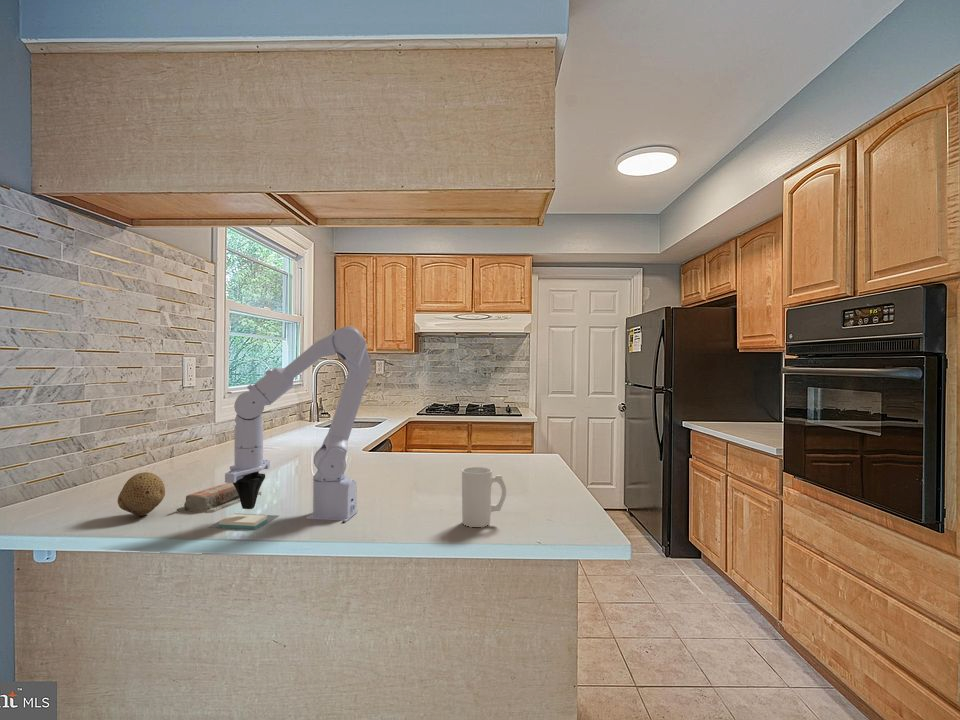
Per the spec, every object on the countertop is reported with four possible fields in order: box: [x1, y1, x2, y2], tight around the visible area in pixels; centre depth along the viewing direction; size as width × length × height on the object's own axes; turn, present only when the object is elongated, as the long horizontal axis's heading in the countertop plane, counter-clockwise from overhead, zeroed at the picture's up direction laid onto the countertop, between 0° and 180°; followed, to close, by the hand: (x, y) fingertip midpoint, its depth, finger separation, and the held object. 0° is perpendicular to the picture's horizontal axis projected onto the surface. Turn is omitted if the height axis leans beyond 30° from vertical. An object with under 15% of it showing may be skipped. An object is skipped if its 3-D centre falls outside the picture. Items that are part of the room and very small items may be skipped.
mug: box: [461, 466, 507, 528], centre depth 118 cm, size 10×7×12 cm, turn 92°
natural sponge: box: [117, 471, 166, 517], centre depth 121 cm, size 9×9×10 cm
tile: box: [218, 513, 267, 530], centre depth 114 cm, size 8×1×5 cm
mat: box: [207, 513, 280, 531], centre depth 116 cm, size 11×10×1 cm
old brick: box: [176, 483, 262, 514], centre depth 132 cm, size 18×5×10 cm
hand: (248, 508), depth 115 cm, fingers closed
